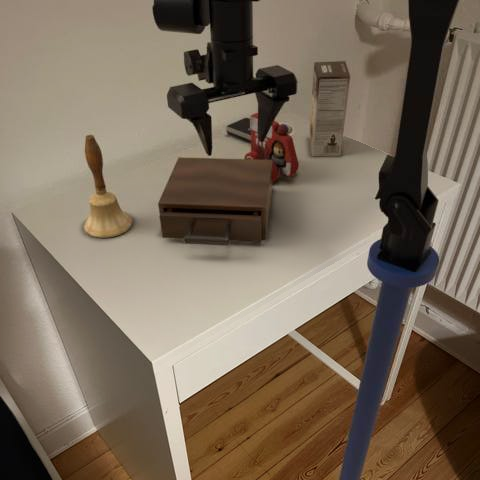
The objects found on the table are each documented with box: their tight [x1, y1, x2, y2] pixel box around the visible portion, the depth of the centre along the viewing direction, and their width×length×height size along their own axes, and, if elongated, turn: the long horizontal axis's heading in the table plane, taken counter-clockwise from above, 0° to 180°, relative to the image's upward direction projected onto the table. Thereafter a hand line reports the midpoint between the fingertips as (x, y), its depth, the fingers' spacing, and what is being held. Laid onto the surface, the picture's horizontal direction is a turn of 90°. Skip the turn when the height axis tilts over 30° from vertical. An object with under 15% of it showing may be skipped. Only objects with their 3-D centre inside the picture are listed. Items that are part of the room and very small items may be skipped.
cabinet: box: [157, 156, 274, 240], centre depth 89 cm, size 17×18×6 cm
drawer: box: [159, 208, 263, 247], centre depth 85 cm, size 20×16×4 cm
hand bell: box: [83, 134, 133, 239], centre depth 83 cm, size 8×8×16 cm
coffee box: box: [308, 60, 351, 157], centre depth 104 cm, size 9×6×16 cm
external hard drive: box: [225, 117, 251, 144], centre depth 113 cm, size 7×11×2 cm, turn 46°
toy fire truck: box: [243, 112, 300, 183], centre depth 98 cm, size 7×12×10 cm, turn 38°
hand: (235, 147), depth 79 cm, fingers open, 9 cm apart
